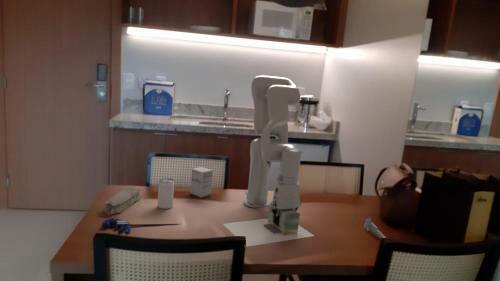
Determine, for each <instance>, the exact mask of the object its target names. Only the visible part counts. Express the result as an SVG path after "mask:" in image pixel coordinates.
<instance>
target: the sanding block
mask: <svg viewBox="0 0 500 281" xmlns="http://www.w3.org/2000/svg"><path fill="white" fill-rule="evenodd" d="M273 208H275V206H273ZM277 210H278V209H277ZM279 216H280V219H279V225H278V226H277V225H276V224H274V223H273V217H274V214H273V212H272V211H271V210H270V209H269V212H268V218H269V219H268V218H267V219H268V223H269V224H272V225H274V226H275V227H276V228H278V229H279V230H281V233H283V234H284V235H289V234H295V233H298V225H299V226H300V216H301V214H300V213H299V211H295V210H293V209H286V210H281V211H280V213H279Z"/></svg>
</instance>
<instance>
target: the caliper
mask: <svg viewBox="0 0 500 281" xmlns="http://www.w3.org/2000/svg"><path fill="white" fill-rule="evenodd" d="M378 228H379V227H378V226H376V225H375V223H374V222H373V221H372V218H371V217H370V216H368V217H367V218H366V219H365V221H364V226H363V230H366V232H370V230H371V232H372V233H373V234H376V235H377V236H378V237H379V238H380V239H381V238H387V237H386V236H385V235H384V234H383V233H382V232H381V231H380V230H379V229H378Z"/></svg>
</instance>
